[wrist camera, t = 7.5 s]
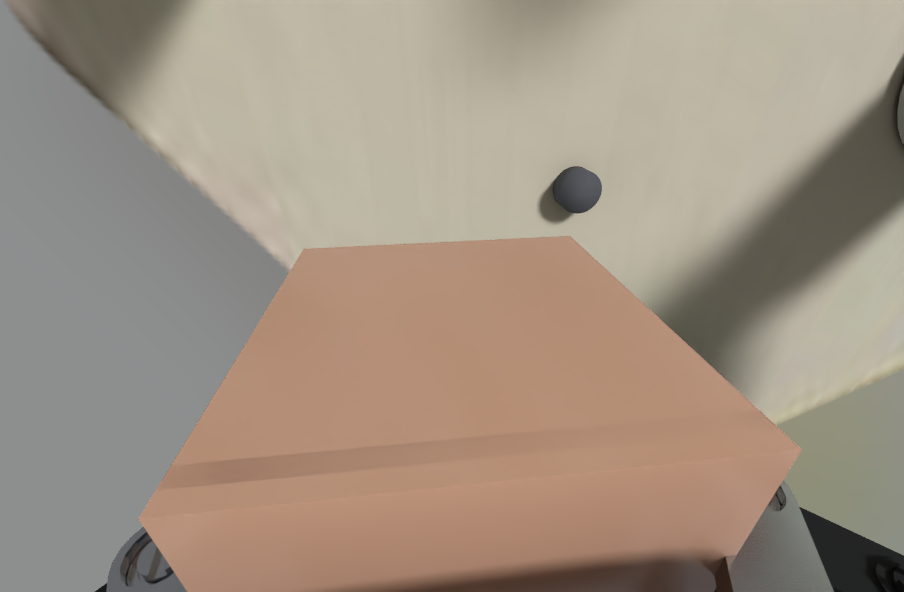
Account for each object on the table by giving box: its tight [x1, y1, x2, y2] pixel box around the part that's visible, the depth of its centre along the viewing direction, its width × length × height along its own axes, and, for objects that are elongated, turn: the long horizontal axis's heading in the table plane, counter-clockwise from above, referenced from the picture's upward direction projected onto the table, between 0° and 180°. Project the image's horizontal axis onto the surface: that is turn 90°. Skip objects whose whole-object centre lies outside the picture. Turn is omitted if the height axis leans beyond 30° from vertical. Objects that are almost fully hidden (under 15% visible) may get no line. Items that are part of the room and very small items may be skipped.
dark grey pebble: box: [553, 167, 602, 213], centre depth 26 cm, size 3×3×2 cm
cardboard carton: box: [139, 236, 802, 592], centre depth 9 cm, size 7×7×7 cm
